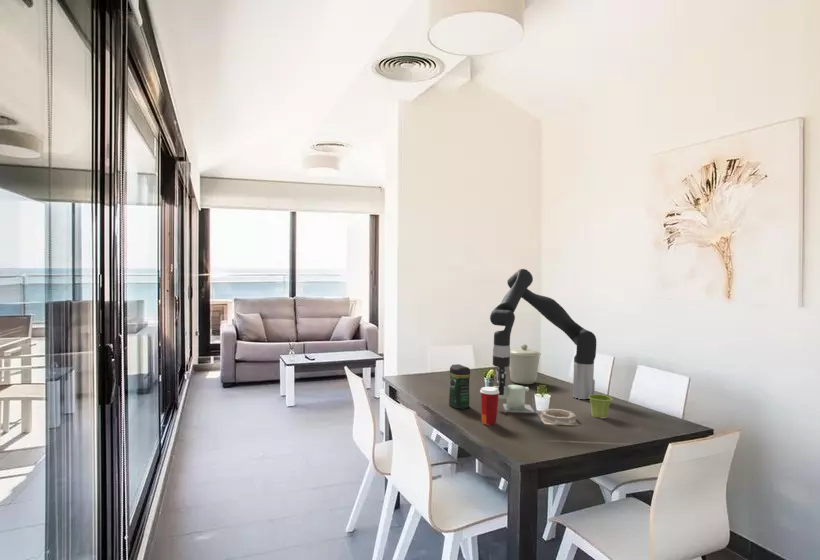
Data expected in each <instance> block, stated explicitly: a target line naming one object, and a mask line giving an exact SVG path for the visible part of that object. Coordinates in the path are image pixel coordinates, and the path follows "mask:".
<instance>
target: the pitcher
mask: <svg viewBox="0 0 820 560" xmlns="http://www.w3.org/2000/svg"><path fill="white" fill-rule="evenodd" d="M492 387H495V388H498V390H499V386H497V385H493V386H492ZM529 391H530V388H529V386H525V385H522V384H520V385H519V384H508V385H507V386H504V395H498V399H504V400H505V399H506V403H505V404H506V407H507V408H508V409H511V410H523V409H525V405H526V392H529Z"/></svg>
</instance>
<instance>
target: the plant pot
mask: <svg viewBox="0 0 820 560" xmlns="http://www.w3.org/2000/svg"><path fill="white" fill-rule="evenodd" d="M588 397H589V399H590V400H589V402H590V410H591V411H590V413H591V414H590V415H591V417H593V416H594V417H593V418H596V417H607V418H608V415H609V409H610V405H611V402H612V401H613V398H612V397H610V396H608V395H603V394H594V395H589V396H588Z"/></svg>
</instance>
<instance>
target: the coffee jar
mask: <svg viewBox="0 0 820 560" xmlns="http://www.w3.org/2000/svg"><path fill="white" fill-rule="evenodd" d="M470 377H471V369H470V368H469V367H467V366H464V365H462V364H460V363H459V364H458V363H457V364H452V365H450V367H449V395H448V397H449V398H448V404H449V406H451V408H452V407H453V408H455V409H461V410H463V409H467V408H469V407H470Z"/></svg>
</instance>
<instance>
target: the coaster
mask: <svg viewBox="0 0 820 560" xmlns="http://www.w3.org/2000/svg"><path fill="white" fill-rule="evenodd" d="M502 407H503V409H504V411H505V413H506V414H508V413H520V414H522V413H524V414H528V413H529V414H535V413H536V412H535V411H534V409H533V408H532V406H531V405H530V404H525V409H523V410H511V409H508V408H507V407H506V403H502Z"/></svg>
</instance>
